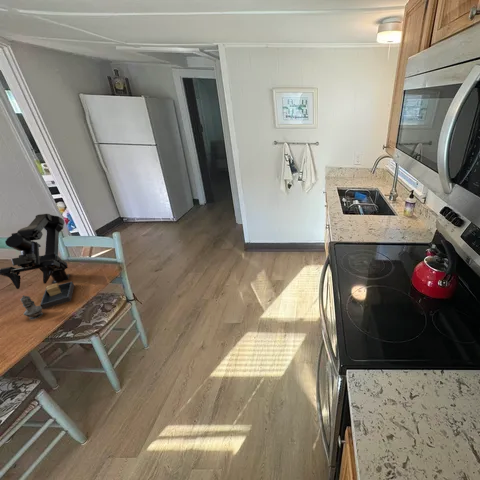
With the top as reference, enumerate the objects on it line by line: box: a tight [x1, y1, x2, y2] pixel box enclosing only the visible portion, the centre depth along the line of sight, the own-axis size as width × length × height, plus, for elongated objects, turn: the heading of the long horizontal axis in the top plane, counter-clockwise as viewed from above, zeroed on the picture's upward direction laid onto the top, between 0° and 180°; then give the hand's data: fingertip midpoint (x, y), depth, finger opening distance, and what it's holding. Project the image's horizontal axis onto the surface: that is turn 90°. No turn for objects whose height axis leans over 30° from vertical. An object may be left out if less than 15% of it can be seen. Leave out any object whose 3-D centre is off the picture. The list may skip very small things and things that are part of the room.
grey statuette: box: [20, 294, 44, 320], centre depth 116 cm, size 6×6×12 cm
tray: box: [39, 281, 75, 310], centre depth 130 cm, size 15×10×3 cm, turn 35°
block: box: [45, 283, 61, 296], centre depth 132 cm, size 4×4×4 cm
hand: (31, 286), depth 120 cm, fingers open, 9 cm apart
